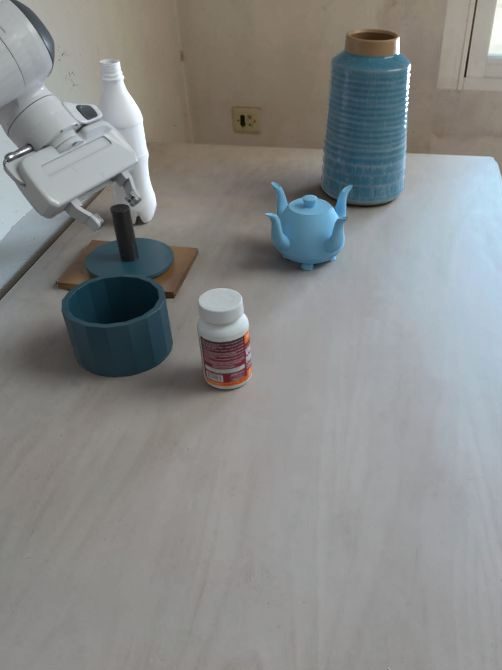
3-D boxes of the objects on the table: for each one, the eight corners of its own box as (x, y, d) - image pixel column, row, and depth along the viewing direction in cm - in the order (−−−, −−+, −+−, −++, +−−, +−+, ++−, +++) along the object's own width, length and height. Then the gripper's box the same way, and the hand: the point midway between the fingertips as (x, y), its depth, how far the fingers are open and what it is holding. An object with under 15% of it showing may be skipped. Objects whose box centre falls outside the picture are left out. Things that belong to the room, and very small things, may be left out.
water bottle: (154, 227, 110) (127, 68, 93) (113, 226, 110) (78, 66, 93) (162, 210, 115) (138, 56, 98) (123, 209, 115) (92, 54, 98)
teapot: (345, 279, 99) (348, 218, 92) (261, 273, 99) (259, 212, 92) (349, 241, 108) (352, 183, 101) (273, 236, 109) (271, 178, 102)
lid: (72, 282, 94) (56, 224, 88) (105, 241, 104) (93, 186, 98) (159, 290, 93) (149, 231, 87) (184, 247, 103) (177, 192, 97)
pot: (60, 371, 80) (44, 322, 75) (97, 317, 89) (85, 270, 84) (156, 380, 79) (146, 331, 74) (183, 325, 88) (176, 277, 83)
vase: (326, 172, 130) (330, 21, 112) (405, 178, 129) (422, 26, 111) (315, 205, 118) (318, 42, 100) (401, 212, 117) (420, 48, 99)
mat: (58, 288, 95) (56, 282, 94) (93, 245, 105) (92, 239, 104) (174, 298, 93) (173, 292, 93) (198, 253, 104) (198, 248, 103)
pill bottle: (259, 384, 79) (255, 307, 71) (212, 396, 77) (202, 318, 69) (242, 357, 83) (237, 281, 76) (197, 368, 81) (187, 291, 74)
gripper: (3, 144, 79) (84, 232, 84) (102, 101, 94) (167, 179, 98) (-14, 173, 84) (64, 256, 88) (84, 128, 98) (147, 201, 102)
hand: (119, 215), depth 93 cm, fingers open, 8 cm apart
